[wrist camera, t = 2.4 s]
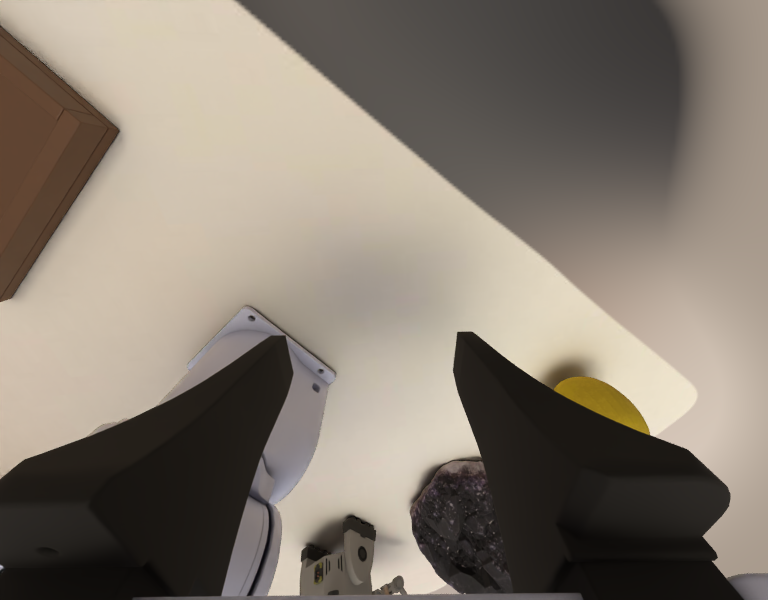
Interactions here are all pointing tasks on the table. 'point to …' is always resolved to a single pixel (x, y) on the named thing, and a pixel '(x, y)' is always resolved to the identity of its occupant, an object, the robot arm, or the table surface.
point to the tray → (39, 156)
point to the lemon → (602, 401)
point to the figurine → (344, 566)
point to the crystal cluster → (462, 530)
